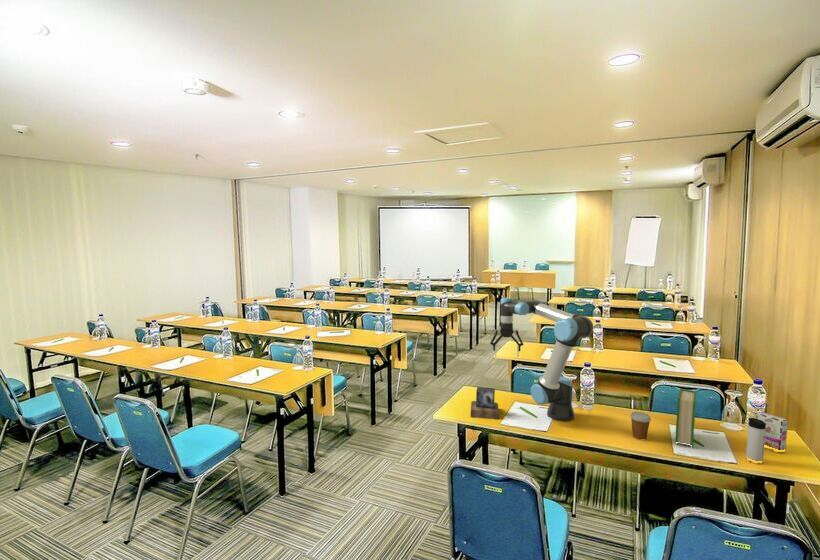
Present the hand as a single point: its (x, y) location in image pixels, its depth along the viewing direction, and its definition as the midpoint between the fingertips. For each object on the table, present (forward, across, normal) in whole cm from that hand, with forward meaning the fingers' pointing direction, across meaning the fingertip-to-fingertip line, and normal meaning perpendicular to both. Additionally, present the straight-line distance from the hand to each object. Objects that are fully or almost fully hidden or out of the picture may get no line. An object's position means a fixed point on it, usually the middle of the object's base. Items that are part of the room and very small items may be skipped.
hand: (506, 356), depth 267 cm
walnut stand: (+31, +14, +17) cm, 38 cm away
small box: (+27, +14, +17) cm, 35 cm away
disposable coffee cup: (+34, -66, +35) cm, 82 cm away
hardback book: (+34, -88, +34) cm, 100 cm away
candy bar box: (+35, -126, +36) cm, 136 cm away
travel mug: (+35, -110, +52) cm, 127 cm away
